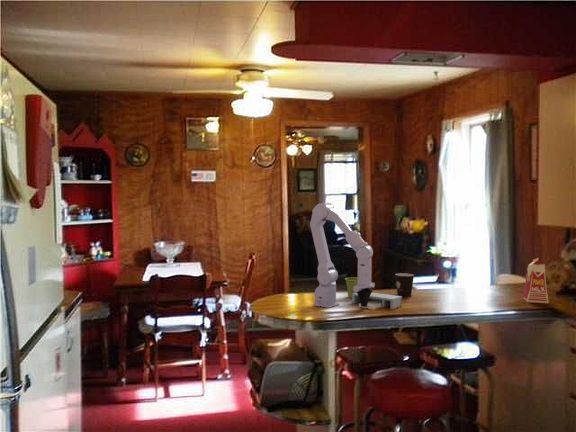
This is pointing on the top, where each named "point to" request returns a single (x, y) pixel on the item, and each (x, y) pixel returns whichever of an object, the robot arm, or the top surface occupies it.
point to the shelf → (382, 299)
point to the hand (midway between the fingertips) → (363, 306)
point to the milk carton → (536, 283)
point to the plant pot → (351, 285)
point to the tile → (373, 304)
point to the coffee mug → (404, 284)
